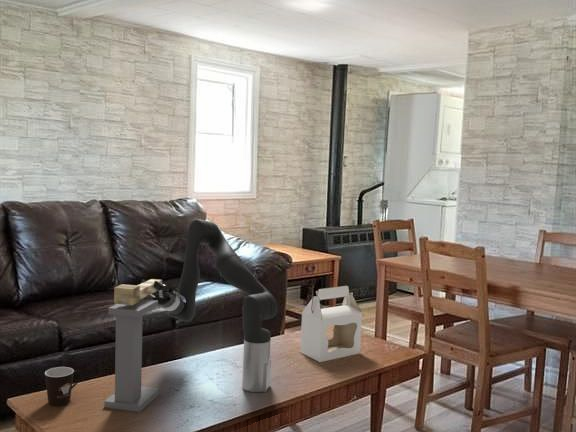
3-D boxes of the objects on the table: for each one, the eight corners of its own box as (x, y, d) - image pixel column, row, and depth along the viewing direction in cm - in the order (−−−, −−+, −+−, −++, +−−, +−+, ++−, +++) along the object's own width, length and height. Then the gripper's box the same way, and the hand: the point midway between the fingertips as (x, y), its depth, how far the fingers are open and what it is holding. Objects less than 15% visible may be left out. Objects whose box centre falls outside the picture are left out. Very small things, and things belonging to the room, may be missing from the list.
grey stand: (158, 394, 195) (160, 300, 191) (139, 412, 181) (141, 311, 178) (125, 390, 197) (127, 297, 194) (104, 407, 183) (105, 307, 180)
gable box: (339, 344, 256) (343, 281, 253) (360, 353, 245) (364, 288, 242) (299, 352, 243) (302, 286, 240) (319, 362, 232) (322, 293, 229)
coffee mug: (45, 409, 180) (46, 378, 179) (43, 399, 187) (43, 368, 186) (85, 403, 185) (85, 373, 184) (81, 393, 193) (81, 364, 192)
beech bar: (148, 287, 203) (148, 273, 202) (164, 288, 202) (165, 274, 201) (114, 303, 179) (114, 287, 179) (132, 305, 178) (132, 289, 178)
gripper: (150, 286, 214) (131, 270, 199) (187, 289, 211) (170, 274, 196) (145, 306, 211) (126, 292, 196) (182, 309, 208) (166, 295, 193)
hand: (148, 283), depth 196 cm, fingers closed on beech bar, 4 cm apart
